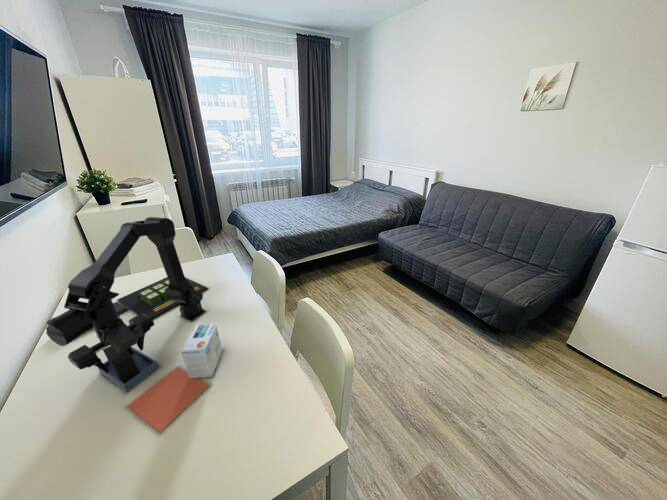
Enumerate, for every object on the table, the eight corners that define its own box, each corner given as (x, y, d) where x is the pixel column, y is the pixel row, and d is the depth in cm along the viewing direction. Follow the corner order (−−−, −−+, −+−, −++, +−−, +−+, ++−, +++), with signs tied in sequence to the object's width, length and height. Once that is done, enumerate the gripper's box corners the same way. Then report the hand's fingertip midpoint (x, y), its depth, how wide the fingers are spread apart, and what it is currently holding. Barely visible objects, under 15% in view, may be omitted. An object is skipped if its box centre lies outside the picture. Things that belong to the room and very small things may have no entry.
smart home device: (51, 332, 94) (115, 301, 110) (54, 335, 95) (117, 304, 110) (61, 340, 90) (126, 307, 106) (64, 343, 91) (128, 310, 107)
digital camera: (145, 371, 79) (137, 354, 76) (123, 384, 75) (114, 366, 72) (132, 355, 85) (124, 338, 82) (111, 366, 81) (102, 349, 78)
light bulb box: (202, 351, 86) (194, 324, 82) (223, 349, 87) (217, 322, 82) (188, 379, 77) (179, 350, 72) (213, 377, 77) (205, 348, 73)
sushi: (148, 321, 100) (145, 313, 99) (117, 301, 113) (114, 293, 111) (207, 289, 119) (205, 282, 118) (176, 274, 132) (174, 268, 130)
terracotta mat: (177, 367, 81) (177, 367, 81) (209, 385, 75) (209, 385, 75) (127, 407, 70) (127, 406, 70) (160, 432, 64) (160, 432, 64)
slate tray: (133, 351, 87) (130, 345, 86) (159, 367, 81) (157, 361, 80) (100, 372, 80) (97, 367, 79) (127, 392, 74) (123, 386, 73)
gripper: (76, 352, 61) (103, 398, 68) (157, 306, 76) (172, 348, 83) (54, 337, 66) (81, 381, 73) (134, 296, 81) (151, 336, 87)
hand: (125, 360), depth 79 cm, fingers open, 9 cm apart
